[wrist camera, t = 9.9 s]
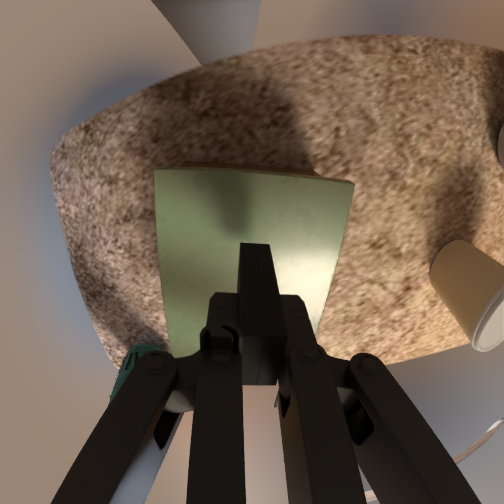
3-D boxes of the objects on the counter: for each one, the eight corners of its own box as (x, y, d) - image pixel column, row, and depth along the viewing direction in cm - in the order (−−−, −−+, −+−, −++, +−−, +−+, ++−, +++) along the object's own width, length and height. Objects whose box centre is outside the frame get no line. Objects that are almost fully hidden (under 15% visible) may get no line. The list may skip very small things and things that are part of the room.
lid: (157, 166, 15) (153, 168, 14) (350, 180, 16) (355, 184, 15) (174, 358, 23) (173, 365, 22) (302, 363, 24) (304, 369, 23)
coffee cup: (458, 294, 32) (503, 347, 21) (414, 295, 31) (461, 360, 20) (481, 236, 28) (539, 282, 17) (439, 228, 27) (505, 283, 16)
